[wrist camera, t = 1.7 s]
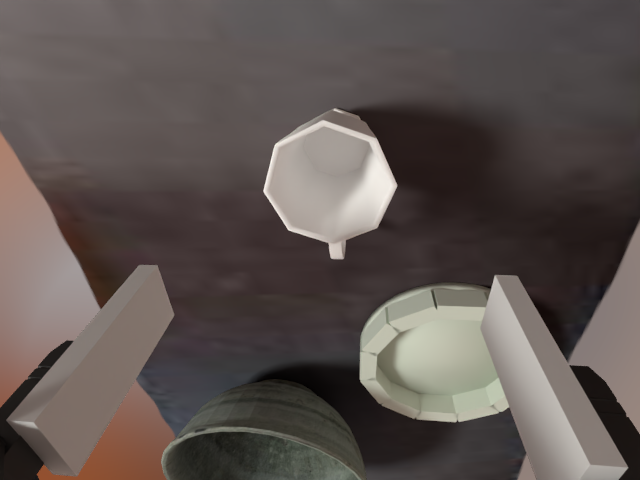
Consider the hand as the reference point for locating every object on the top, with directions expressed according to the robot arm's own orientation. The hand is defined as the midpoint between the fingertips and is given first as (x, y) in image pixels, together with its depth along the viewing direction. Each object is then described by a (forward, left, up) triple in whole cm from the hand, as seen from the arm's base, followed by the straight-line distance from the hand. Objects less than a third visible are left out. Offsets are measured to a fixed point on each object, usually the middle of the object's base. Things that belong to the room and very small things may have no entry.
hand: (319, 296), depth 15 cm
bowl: (+30, -7, -15) cm, 34 cm away
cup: (0, 0, -15) cm, 15 cm away
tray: (+19, +10, -14) cm, 26 cm away
